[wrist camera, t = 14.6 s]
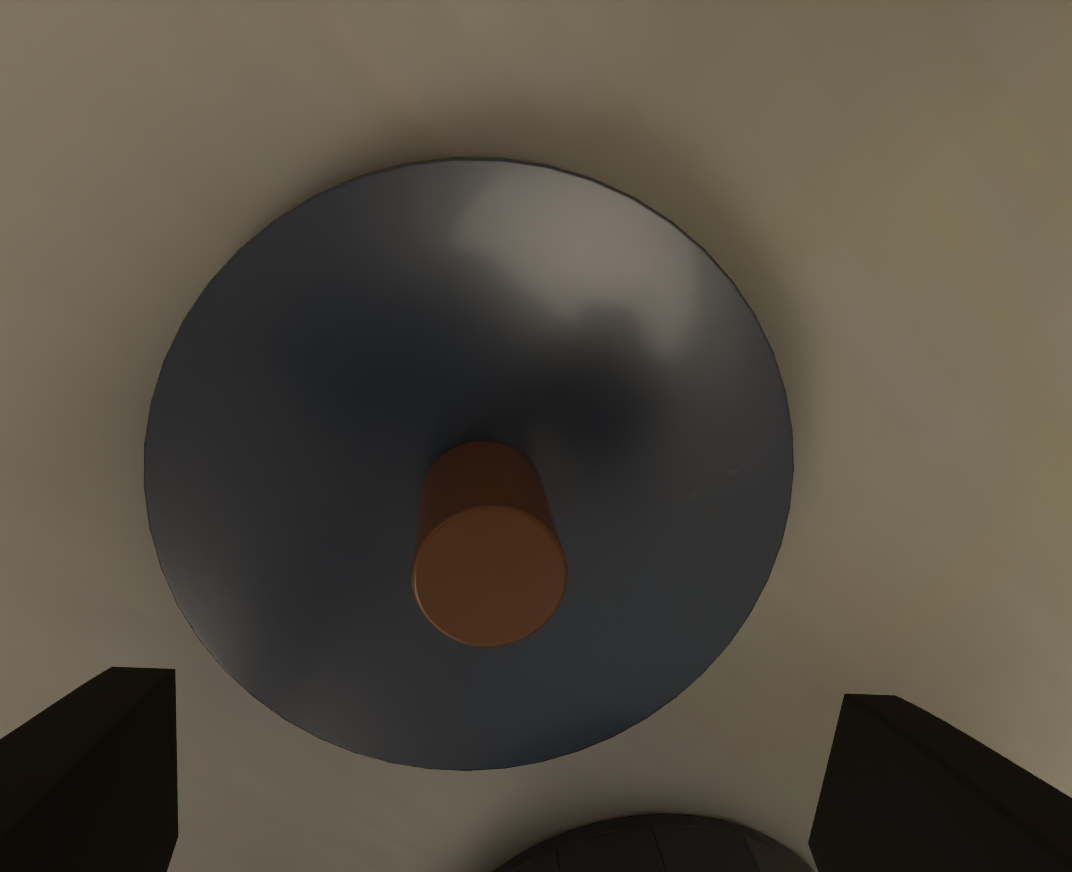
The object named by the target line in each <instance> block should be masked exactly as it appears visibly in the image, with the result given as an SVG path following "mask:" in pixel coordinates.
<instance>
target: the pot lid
mask: <svg viewBox="0 0 1072 872" xmlns="http://www.w3.org/2000/svg"><path fill="white" fill-rule="evenodd" d="M793 472H794V464H793V434H792V425H791V419H790V413H789V407H788V401H787V396H786V390H785V387H784V384H783V381H782V378H781V375H780V371H779V368H778V365H777V362H776V359H775V356H774V353H773V351H772V348H771V346H770V344H769V342H768V340H767V338H766V336H765V334H764V332H763V330H762V328H761V325H760V323H759V321H758V319H757V317H756V315H755V314H754V312H753V311H752V309H751V308H750V306H749V305H748V303H747V302H746V300H745V299H744V297H743V296H742V294H741V293H740V291H739V290H738V288H737V287H736V285H735V284H734V282H733V281H732V280H731V278H730V277H729V276H728V275H727V274H726V273H725V272H724V271H723V269H722V268H721V267H720V266H719V265H718V264H717V263H716V262H715V260H714V259H713V258H712V257H711V256H710V255H709V254H708V253H707V251H706V250H705V249H704V248H703V247H701V246H700V245H699V244H698V243H697V242H695V241H694V240H693V239H692V238H691V237H690V236H688V235H687V234H686V233H685V232H684V231H683V230H681V229H680V228H679V227H678V226H677V225H676V224H674V223H673V222H672V221H671V220H669V219H668V218H666V217H664V216H663V215H661V214H660V213H658V212H656V211H655V210H653V209H652V208H650V207H649V206H647V205H645V204H644V203H642V202H641V201H639V200H638V199H636V198H634V197H633V196H630V195H628V194H626V193H624V192H622V191H619V190H617V189H615V188H613V187H611V186H608V185H606V184H604V183H602V182H600V181H597V180H595V179H593V178H590V177H587V176H583V175H580V174H577V173H573V172H570V171H566V170H563V169H560V168H556V167H553V166H550V165H545V164H538V163H532V162H525V161H518V160H512V159H505V158H468V157H452V158H444V159H436V160H429V161H421V162H413V163H406V164H402V165H398V166H394V167H391V168H387V169H383V170H380V171H376V172H372V173H369V174H365V175H361V176H358V177H356V178H354V179H351V180H349V181H347V182H344V183H342V184H340V185H337V186H335V187H333V188H330V189H328V190H326V191H323V192H321V193H319V194H316V195H315V196H313V197H311V198H310V199H308V200H306V201H305V202H303V203H301V204H300V205H298V206H297V207H295V208H293V209H292V210H290V211H288V212H287V213H285V214H283V215H282V216H280V217H278V218H277V219H275V220H274V221H273V222H272V223H270V224H269V225H268V226H267V227H265V228H264V229H263V230H262V231H261V232H259V233H258V234H257V235H256V236H255V237H253V238H252V239H251V240H250V241H248V242H247V243H246V244H245V245H244V246H242V247H241V248H240V249H239V250H238V251H237V252H236V253H235V254H234V255H233V257H232V258H231V259H230V260H229V261H228V262H227V263H226V264H225V265H224V266H223V267H222V269H221V270H220V271H219V272H218V273H217V274H216V275H215V276H214V277H213V278H212V280H211V281H210V282H209V283H208V284H207V286H206V287H205V289H204V290H203V292H202V293H201V295H200V296H199V298H198V299H197V301H196V302H195V304H194V305H193V306H192V308H191V309H190V311H189V312H188V314H187V315H186V317H185V318H184V320H183V322H182V324H181V326H180V328H179V330H178V332H177V334H176V336H175V338H174V340H173V342H172V344H171V347H170V349H169V351H168V353H167V355H166V357H165V359H164V361H163V365H162V368H161V371H160V374H159V378H158V381H157V384H156V387H155V390H154V394H153V397H152V400H151V404H150V411H149V417H148V424H147V430H146V437H145V443H144V491H145V498H146V505H147V512H148V520H149V527H150V531H151V535H152V538H153V542H154V545H155V549H156V552H157V555H158V559H159V562H160V566H161V569H162V571H163V573H164V576H165V578H166V580H167V582H168V585H169V587H170V589H171V591H172V594H173V596H174V598H175V600H176V602H177V605H178V606H179V608H180V610H181V611H182V613H183V614H184V616H185V618H186V619H187V621H188V622H189V624H190V626H191V627H192V629H193V630H194V632H195V634H196V635H197V637H198V638H199V640H200V641H201V642H202V643H203V645H204V646H205V647H206V648H207V650H208V651H209V652H210V653H211V654H212V656H213V657H214V658H215V659H216V660H217V662H218V663H219V664H220V665H221V666H222V668H223V669H224V670H225V671H226V672H227V673H228V674H229V675H230V676H231V677H233V678H234V679H235V680H236V681H237V682H238V683H239V684H240V685H241V686H242V687H243V688H244V689H245V690H246V691H247V692H249V693H250V694H251V695H252V696H253V697H254V698H256V699H257V700H258V701H260V702H261V703H263V704H264V705H265V706H267V707H268V708H269V709H271V710H272V711H274V712H275V713H276V714H278V715H279V716H280V717H282V718H283V719H285V720H286V721H288V722H290V723H292V724H294V725H296V726H297V727H299V728H301V729H303V730H305V731H306V732H308V733H310V734H312V735H314V736H315V737H317V738H319V739H322V740H324V741H327V742H329V743H332V744H334V745H336V746H339V747H341V748H344V749H346V750H349V751H351V752H354V753H357V754H361V755H364V756H368V757H371V758H375V759H379V760H382V761H386V762H389V763H394V764H401V765H407V766H413V767H419V768H426V769H439V770H460V771H472V770H487V769H503V768H510V767H516V766H521V765H527V764H533V763H538V762H543V761H547V760H550V759H554V758H557V757H561V756H564V755H567V754H571V753H574V752H578V751H580V750H583V749H585V748H588V747H590V746H592V745H595V744H597V743H600V742H602V741H604V740H607V739H609V738H612V737H614V736H616V735H617V734H619V733H621V732H623V731H625V730H627V729H628V728H630V727H632V726H634V725H636V724H637V723H639V722H641V721H643V720H645V719H646V718H648V717H649V716H651V715H652V714H653V713H655V712H656V711H658V710H659V709H661V708H662V707H663V706H665V705H666V704H668V703H669V702H670V701H672V700H673V699H675V698H676V697H677V696H678V695H679V694H681V693H682V692H683V691H684V690H685V689H686V688H687V687H688V686H690V685H691V684H692V683H693V682H694V681H695V680H696V679H697V678H698V677H700V676H701V675H702V674H703V673H704V672H705V671H706V670H707V669H708V668H709V666H710V665H711V664H712V663H713V662H714V661H715V660H716V659H717V657H718V656H719V655H720V654H721V653H722V652H723V651H724V649H725V648H726V647H727V646H728V645H729V644H730V642H731V641H732V639H733V638H734V636H735V635H736V634H737V632H738V631H739V629H740V628H741V626H742V625H743V623H744V622H745V621H746V619H747V618H748V616H749V615H750V613H751V611H752V609H753V608H754V606H755V604H756V602H757V600H758V598H759V596H760V594H761V592H762V590H763V589H764V587H765V585H766V583H767V581H768V579H769V576H770V573H771V571H772V568H773V565H774V563H775V560H776V557H777V555H778V552H779V549H780V547H781V543H782V539H783V535H784V531H785V526H786V522H787V518H788V514H789V509H790V501H791V491H792V481H793Z"/></svg>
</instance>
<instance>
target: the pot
mask: <svg viewBox="0 0 1072 872" xmlns="http://www.w3.org/2000/svg"><path fill="white" fill-rule="evenodd" d="M495 872H814V871H813V870H812V868H811V867H809V866H808V865H807V864H806V863H805V862H804V861H802V860H801V859H800V858H799V857H798V856H797V855H795V854H794V853H793V852H792V851H790V850H788V849H787V848H785V847H784V846H782V845H780V844H779V843H777V842H776V841H774V840H772V839H771V838H769V837H766V836H764V835H762V834H759V833H757V832H755V831H753V830H750V829H748V828H745V827H742V826H739V825H735V824H732V823H728V822H725V821H721V820H716V819H710V818H703V817H697V816H689V815H665V814H660V815H646V816H631V817H626V818H620V819H615V820H609V821H604V822H599V823H595V824H592V825H589V826H585V827H582V828H578V829H575V830H572V831H569V832H566V833H564V834H562V835H559V836H557V837H554V838H552V839H549V840H547V841H545V842H542V843H540V844H538V845H537V846H535V847H533V848H531V849H529V850H527V851H526V852H524V853H522V854H520V855H518V856H516V857H515V858H513V859H512V860H510V861H509V862H507V863H506V864H505V865H503V866H502V867H500V868H499V869H497V870H496V871H495Z"/></svg>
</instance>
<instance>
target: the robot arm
mask: <svg viewBox="0 0 1072 872" xmlns="http://www.w3.org/2000/svg"><path fill="white" fill-rule="evenodd" d="M177 838H178V796H177V739H176V683H175V669H158V668H131V667H111V668H109V669H108V670H106V671H104V672H102V673H101V674H99V675H97V676H96V677H94V678H92V679H91V680H89V681H88V682H86V683H85V684H83V685H81V686H80V687H78V688H77V689H75V690H74V691H72V692H71V693H69V694H68V695H66V696H65V697H63V698H62V699H60V700H59V701H57V702H56V703H54V704H53V705H51V706H50V707H48V708H47V709H45V710H44V711H42V712H41V713H39V714H38V715H36V716H35V717H33V718H32V719H30V720H29V721H27V722H26V723H24V724H23V725H21V726H20V727H18V728H17V729H15V730H14V731H12V732H11V733H9V734H8V735H6V736H5V737H3V738H2V739H0V872H167V869H168V866H169V863H170V860H171V857H172V854H173V851H174V848H175V845H176V841H177ZM808 844H809V847H810V850H811V853H812V855H813V858H814V861H815V864H816V867H817V869H818V872H1072V798H1071V797H1069V796H1067V795H1066V794H1064V793H1062V792H1061V791H1059V790H1057V789H1056V788H1054V787H1053V786H1051V785H1049V784H1048V783H1046V782H1044V781H1043V780H1041V779H1039V778H1038V777H1036V776H1035V775H1033V774H1031V773H1030V772H1028V771H1026V770H1025V769H1023V768H1021V767H1020V766H1018V765H1016V764H1015V763H1013V762H1012V761H1010V760H1008V759H1007V758H1005V757H1003V756H1002V755H1000V754H998V753H997V752H995V751H994V750H992V749H990V748H989V747H987V746H985V745H984V744H982V743H980V742H979V741H977V740H975V739H974V738H972V737H970V736H969V735H967V734H965V733H964V732H962V731H960V730H958V729H957V728H955V727H953V726H952V725H950V724H948V723H947V722H945V721H943V720H941V719H940V718H938V717H936V716H934V715H932V714H931V713H929V712H927V711H925V710H923V709H921V708H920V707H918V706H916V705H914V704H912V703H910V702H908V701H906V700H904V699H902V698H900V697H897V696H895V695H868V694H844V698H843V702H842V706H841V710H840V715H839V719H838V723H837V727H836V731H835V735H834V739H833V743H832V747H831V752H830V756H829V760H828V764H827V768H826V772H825V776H824V780H823V785H822V789H821V793H820V797H819V801H818V805H817V809H816V813H815V818H814V822H813V826H812V830H811V834H810V838H809V842H808Z"/></svg>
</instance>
